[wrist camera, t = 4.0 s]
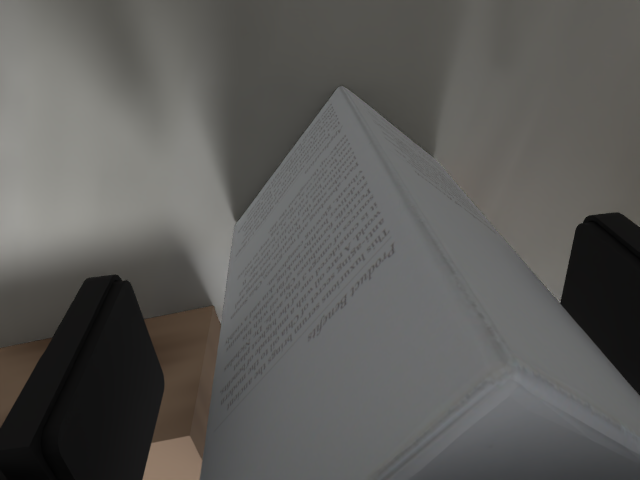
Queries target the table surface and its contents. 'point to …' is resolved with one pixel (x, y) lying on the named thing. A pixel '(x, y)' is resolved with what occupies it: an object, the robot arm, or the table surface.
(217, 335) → the brown cardboard box
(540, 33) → the table surface
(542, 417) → the skincare box
